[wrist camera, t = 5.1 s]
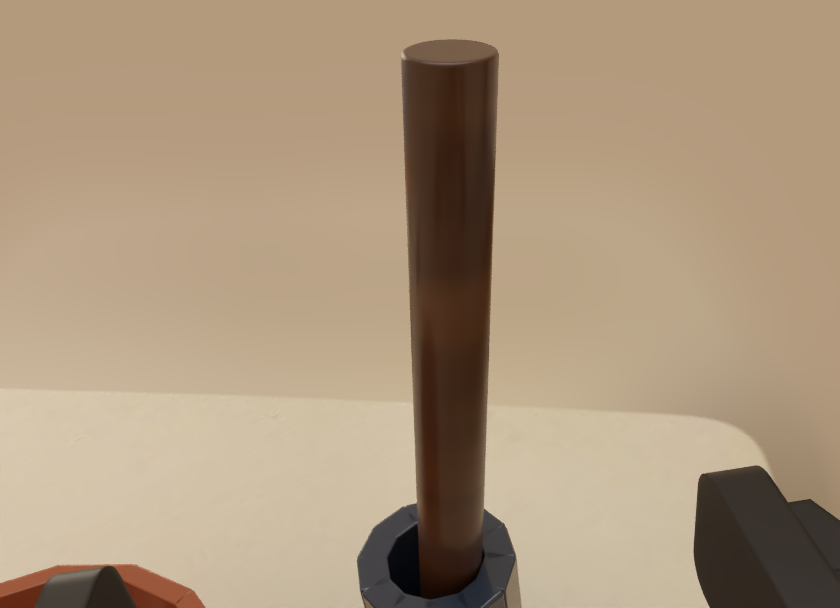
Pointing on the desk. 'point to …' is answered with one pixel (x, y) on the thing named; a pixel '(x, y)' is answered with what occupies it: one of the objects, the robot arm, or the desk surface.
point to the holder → (399, 567)
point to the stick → (450, 295)
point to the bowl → (153, 594)
